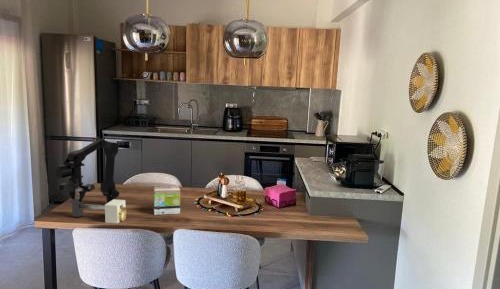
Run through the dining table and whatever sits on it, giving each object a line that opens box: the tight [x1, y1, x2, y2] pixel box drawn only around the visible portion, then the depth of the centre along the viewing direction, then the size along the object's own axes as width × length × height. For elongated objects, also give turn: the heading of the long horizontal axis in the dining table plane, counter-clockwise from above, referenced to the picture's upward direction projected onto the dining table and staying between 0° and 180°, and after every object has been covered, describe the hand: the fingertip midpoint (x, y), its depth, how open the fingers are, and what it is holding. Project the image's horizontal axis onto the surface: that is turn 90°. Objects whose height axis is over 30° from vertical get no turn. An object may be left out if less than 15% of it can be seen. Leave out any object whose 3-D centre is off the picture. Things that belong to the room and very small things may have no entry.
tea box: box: [153, 185, 181, 216], centre depth 227 cm, size 15×10×15 cm
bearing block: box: [104, 198, 127, 224], centre depth 212 cm, size 10×7×10 cm
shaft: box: [71, 196, 105, 218], centre depth 214 cm, size 4×26×10 cm, turn 83°
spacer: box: [118, 207, 128, 222], centre depth 212 cm, size 7×1×7 cm, turn 173°
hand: (77, 201), depth 214 cm, fingers closed on shaft, 4 cm apart
